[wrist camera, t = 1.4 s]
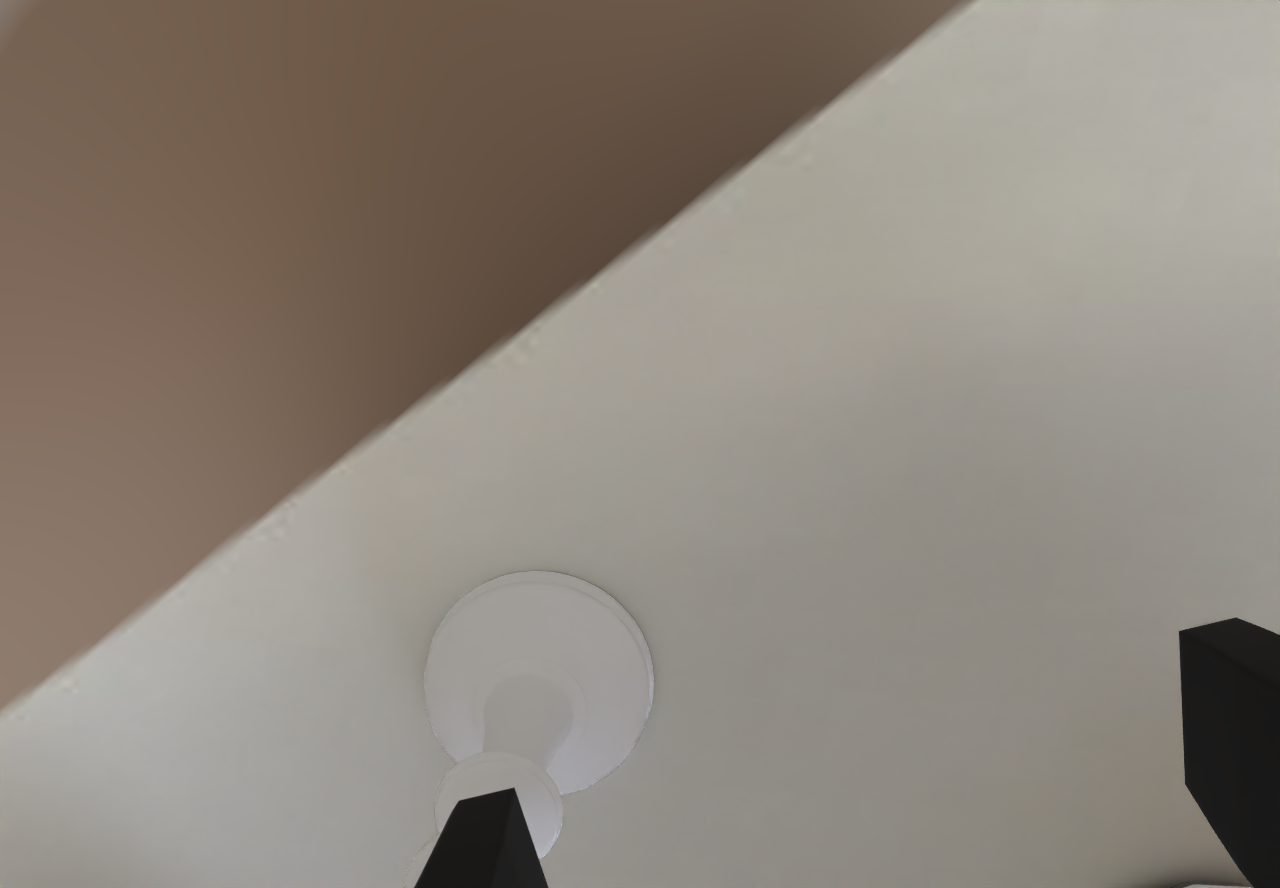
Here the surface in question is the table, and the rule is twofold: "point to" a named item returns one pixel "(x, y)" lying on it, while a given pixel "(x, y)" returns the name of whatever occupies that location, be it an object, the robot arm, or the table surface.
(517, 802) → the robot arm
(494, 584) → the chess piece
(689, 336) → the table surface
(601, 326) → the table surface
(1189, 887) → the cup
